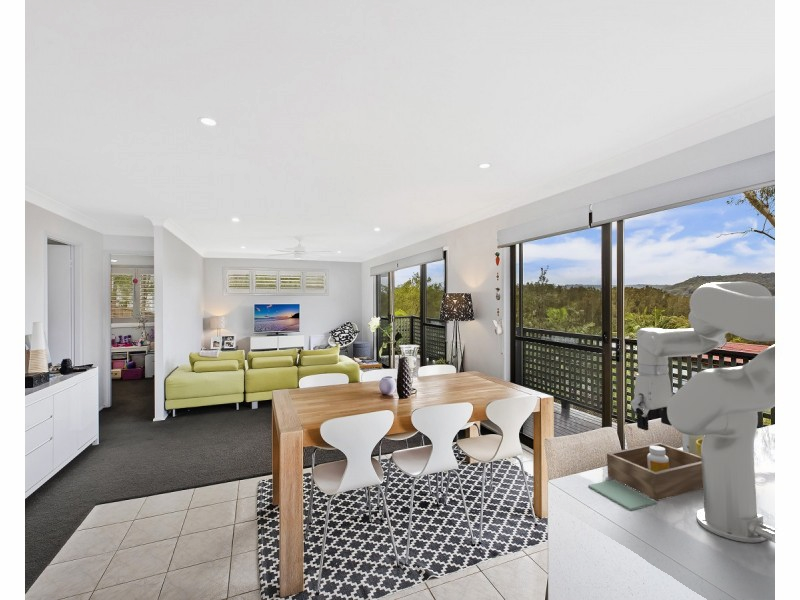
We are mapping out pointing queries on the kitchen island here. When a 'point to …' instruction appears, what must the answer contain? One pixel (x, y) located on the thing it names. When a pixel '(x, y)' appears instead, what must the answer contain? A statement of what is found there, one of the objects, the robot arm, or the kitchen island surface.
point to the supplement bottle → (657, 459)
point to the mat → (622, 494)
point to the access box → (659, 484)
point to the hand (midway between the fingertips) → (655, 426)
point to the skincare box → (691, 443)
